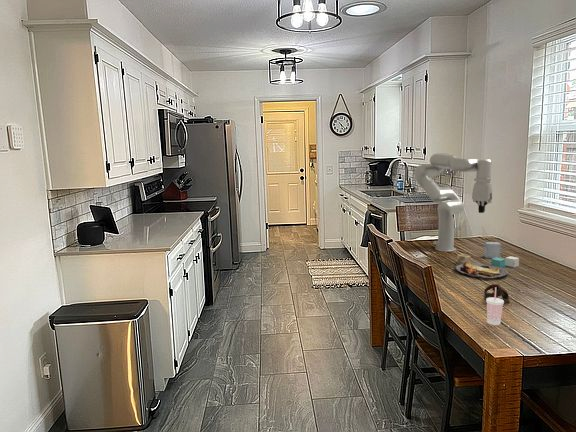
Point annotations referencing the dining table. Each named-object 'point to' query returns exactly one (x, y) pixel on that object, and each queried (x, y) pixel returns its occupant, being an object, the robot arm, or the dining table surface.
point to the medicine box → (492, 249)
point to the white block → (512, 261)
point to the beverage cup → (494, 310)
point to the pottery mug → (499, 292)
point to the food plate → (480, 270)
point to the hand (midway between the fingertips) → (481, 212)
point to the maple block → (463, 258)
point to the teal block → (498, 262)
